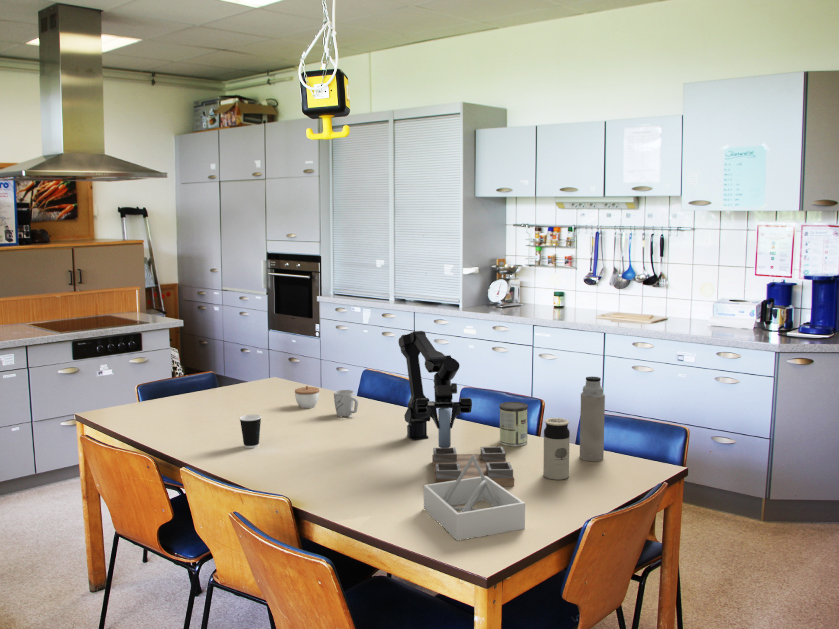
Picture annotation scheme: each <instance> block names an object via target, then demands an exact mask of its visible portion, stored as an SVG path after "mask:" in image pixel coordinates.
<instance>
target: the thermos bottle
mask: <svg viewBox="0 0 839 629" xmlns="http://www.w3.org/2000/svg"><path fill="white" fill-rule="evenodd" d="M601 378H602V377H599V376H586V377H585V385H584V386H583V387H582V392H580V412H579V413H580V416H579V417H580V418H579V420H580V424H579V429H580V430H579V459H581V460H583V461H586V462H600V461H603V460H604V458H605V456H604V454H605V453H604V452H605V451H604V449H605V447H604V446H605V413H606V412H605V409H606V408H605V407H606V405H605V403H606V394H605V393H604V387H603V386H601Z"/></svg>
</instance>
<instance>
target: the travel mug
mask: <svg viewBox="0 0 839 629" xmlns="http://www.w3.org/2000/svg"><path fill="white" fill-rule="evenodd" d="M544 423H545V428H544V430H543V474H542V475H543V476H544V477H545V478H547V479H549V480H555V481H562V480H566V479H568V478H569V477H570V440H571V439H570V429H569V426H568V425H569V423H570V421H569V420H567V419H566V418H562V417H561V418H560V417H550V418H546V419H545V420H544Z"/></svg>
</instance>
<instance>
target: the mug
mask: <svg viewBox="0 0 839 629" xmlns="http://www.w3.org/2000/svg"><path fill="white" fill-rule="evenodd" d="M333 400H334V408H335V412H336V416H337V417H339V416H348V417H351V416H352V414H356V413H357V412H358V407H359V400H358V398H357V397H355V392H354V391H353V390H351V389H338V390H334V392H333ZM353 408H354V409H353ZM350 415H351V416H350Z"/></svg>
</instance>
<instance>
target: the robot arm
mask: <svg viewBox="0 0 839 629" xmlns="http://www.w3.org/2000/svg"><path fill="white" fill-rule="evenodd" d="M398 346H399V348H400V353H401V354H402V355H403V356H404V358H405V359H406V360H405V361H406V366H407V374H408V382H409V390H410V398H409V401H408V403H407V410H406V411H405V413H404V421H405V422H406V423H408V424H407V426H406V431H407V434H406V436H407V437H408V438H410V439H411V440H413V441H414V440H415V441H416V440H424V439H429V436H428V435H427V432H428V431H427V430H428V428H427V427H428V426H427V425H428V424H427V423H428V422H430V421H431V420H433V422H434V424H435V426H436V427H435V428H436V429H439V422H438V410H437V409H440V408H449V409H451V429H453V426H454V424H455V420H456V419H457V416H460V415H461V413H462V414H470V413H472V407H473V401H472V398H471V397H459V401H453V394H458V384H457V383H456V382H455V383H454V382H451V380H453V379H454V378H455V376H456V375H457V373H458V371H459V369H460V363H459V361H458V360H457V359H455V358H454V357H453V358H452V356H451V355H449V354H448V355H447V354H446V355H445V354H444V353H442V352H441V351H438V350H437V349H436V348H435V347H434V346H433V344H432V343H431V341H430V340H429V338H428V337H427V335H426V332H425V331H423V330H418V331H417V330H416V331H412V332H410V333H407V334H402V335H400V337H399V338H398ZM420 354H421V355H422V357H423V358H424V367H425V369H426V371H427V372H428V373H429V374H432V373H435V374H434V375H433V387H434V400H433V401H431V400H430V399H429V397H426V395H425V394H424V388H423V381H422V380H423V379H422V372H421V364H420V357H419V356H420Z"/></svg>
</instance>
